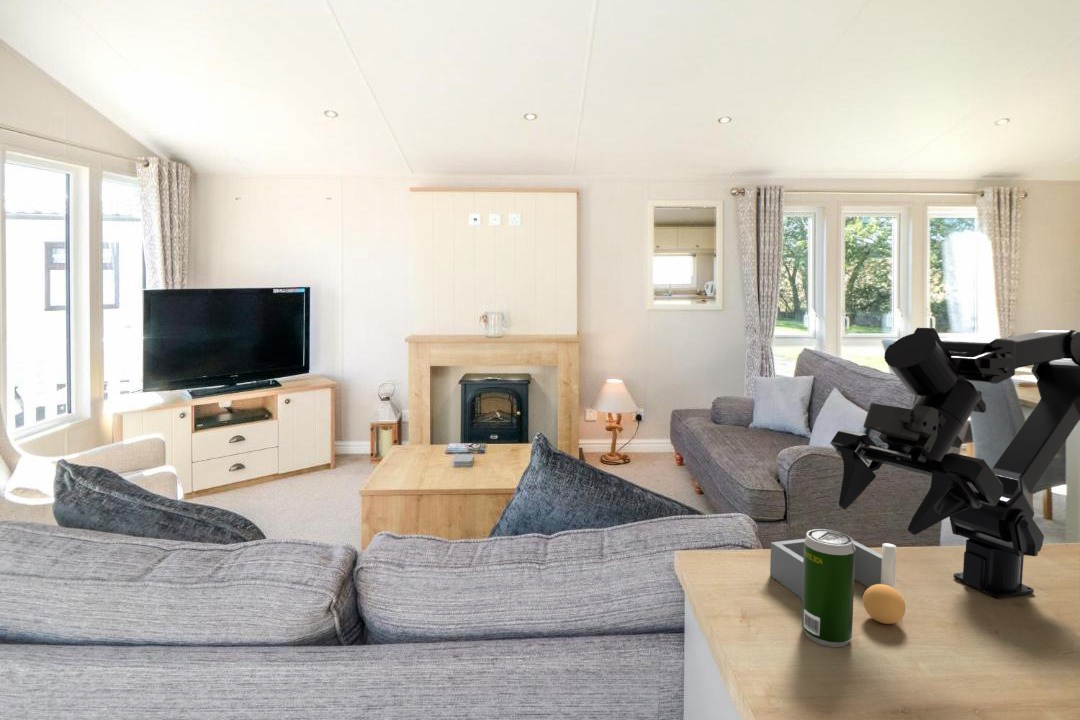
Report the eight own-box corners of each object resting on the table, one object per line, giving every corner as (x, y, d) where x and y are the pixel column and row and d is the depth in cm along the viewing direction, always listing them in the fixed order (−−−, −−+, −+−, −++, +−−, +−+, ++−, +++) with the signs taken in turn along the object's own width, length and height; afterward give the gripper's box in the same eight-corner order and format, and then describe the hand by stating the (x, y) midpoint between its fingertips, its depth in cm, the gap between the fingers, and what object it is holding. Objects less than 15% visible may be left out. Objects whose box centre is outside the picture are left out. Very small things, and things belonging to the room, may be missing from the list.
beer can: (836, 654, 64) (839, 550, 63) (791, 632, 68) (794, 534, 67) (861, 638, 66) (865, 539, 66) (817, 618, 71) (820, 525, 70)
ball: (883, 609, 73) (885, 575, 73) (913, 628, 69) (915, 592, 68) (853, 614, 72) (855, 579, 72) (882, 633, 68) (884, 597, 67)
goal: (842, 566, 85) (844, 521, 85) (897, 598, 76) (899, 547, 75) (768, 576, 82) (769, 529, 82) (815, 610, 73) (817, 557, 72)
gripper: (839, 371, 78) (778, 462, 75) (989, 387, 61) (917, 506, 58) (880, 420, 82) (823, 508, 79) (1032, 448, 64) (967, 563, 62)
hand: (874, 519), depth 69 cm, fingers open, 9 cm apart
